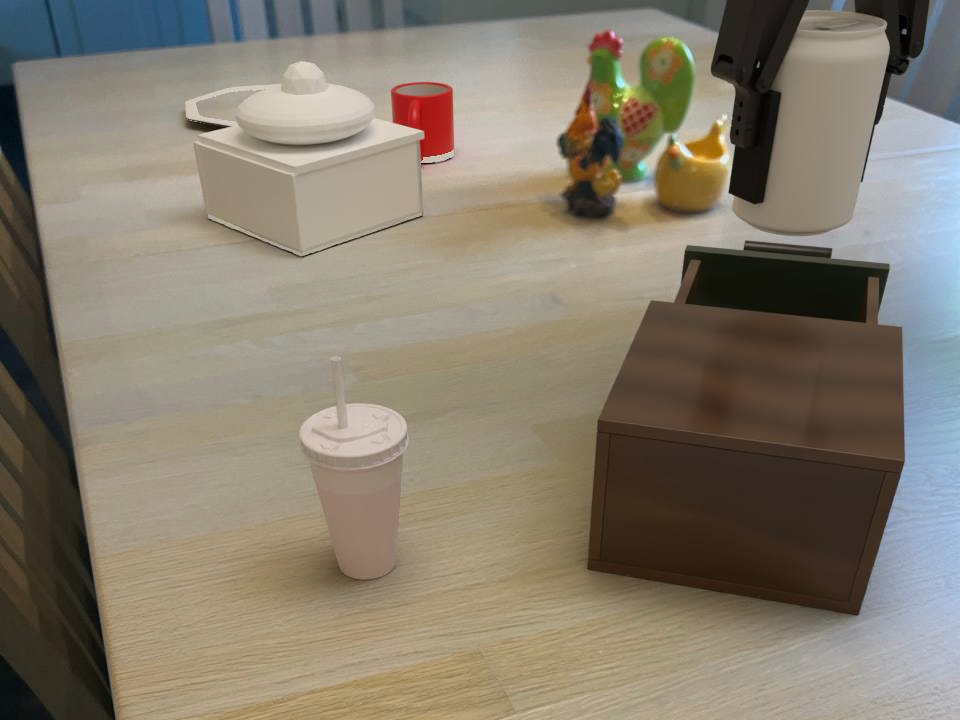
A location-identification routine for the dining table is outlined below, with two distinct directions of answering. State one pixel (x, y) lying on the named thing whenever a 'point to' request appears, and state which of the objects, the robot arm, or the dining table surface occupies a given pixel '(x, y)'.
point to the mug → (426, 114)
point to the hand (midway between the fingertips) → (796, 187)
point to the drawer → (783, 281)
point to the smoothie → (358, 478)
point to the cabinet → (750, 454)
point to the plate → (191, 104)
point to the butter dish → (310, 164)
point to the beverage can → (821, 124)
